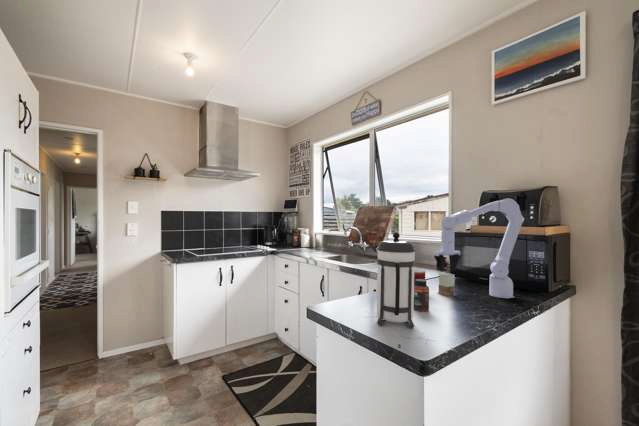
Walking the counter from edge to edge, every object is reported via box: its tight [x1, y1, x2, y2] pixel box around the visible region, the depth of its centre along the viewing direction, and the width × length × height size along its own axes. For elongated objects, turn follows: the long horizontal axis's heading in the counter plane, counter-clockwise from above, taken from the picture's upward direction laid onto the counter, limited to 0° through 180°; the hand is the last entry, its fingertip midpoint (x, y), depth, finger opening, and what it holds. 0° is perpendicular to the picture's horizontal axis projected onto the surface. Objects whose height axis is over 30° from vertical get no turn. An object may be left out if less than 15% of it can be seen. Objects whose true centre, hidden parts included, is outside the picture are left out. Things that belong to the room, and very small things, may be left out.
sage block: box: [438, 272, 455, 287], centre depth 135 cm, size 4×4×5 cm
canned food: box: [414, 268, 426, 285], centre depth 137 cm, size 8×8×11 cm
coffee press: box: [376, 232, 417, 329], centre depth 100 cm, size 17×16×30 cm
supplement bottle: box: [413, 279, 430, 313], centre depth 115 cm, size 6×6×11 cm
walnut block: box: [438, 284, 455, 297], centre depth 135 cm, size 4×4×4 cm
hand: (447, 270), depth 144 cm, fingers open, 7 cm apart
